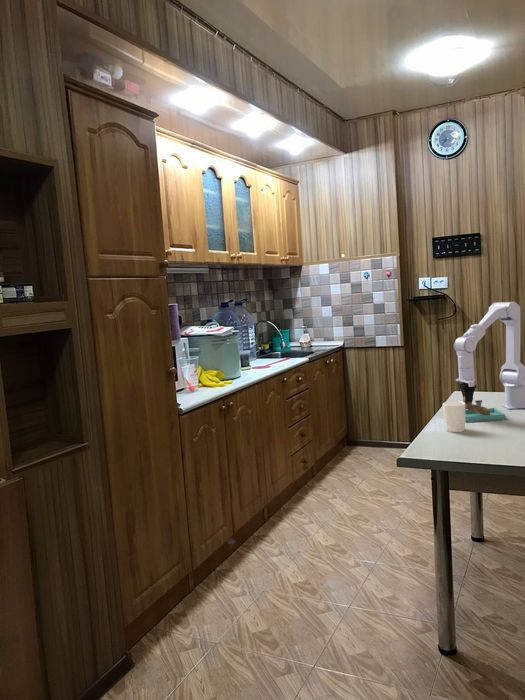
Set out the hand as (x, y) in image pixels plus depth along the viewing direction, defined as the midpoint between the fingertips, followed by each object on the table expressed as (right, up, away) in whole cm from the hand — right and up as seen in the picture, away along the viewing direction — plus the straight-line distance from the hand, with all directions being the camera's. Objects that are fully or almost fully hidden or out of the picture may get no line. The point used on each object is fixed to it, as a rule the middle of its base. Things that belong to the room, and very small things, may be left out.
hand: (467, 401), depth 217 cm
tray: (+5, -6, 0) cm, 8 cm away
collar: (+2, -4, 0) cm, 4 cm away
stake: (+9, -5, +11) cm, 15 cm away
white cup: (-10, -9, -15) cm, 20 cm away
